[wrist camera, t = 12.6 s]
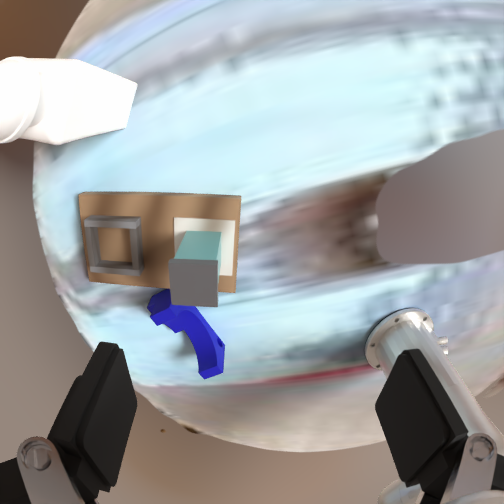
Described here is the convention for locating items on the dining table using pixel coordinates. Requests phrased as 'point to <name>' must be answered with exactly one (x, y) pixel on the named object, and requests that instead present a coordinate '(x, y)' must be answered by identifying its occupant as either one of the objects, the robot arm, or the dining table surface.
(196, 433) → the dining table surface
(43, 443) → the robot arm
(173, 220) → the board
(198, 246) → the plug
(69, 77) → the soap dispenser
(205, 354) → the cable clip
